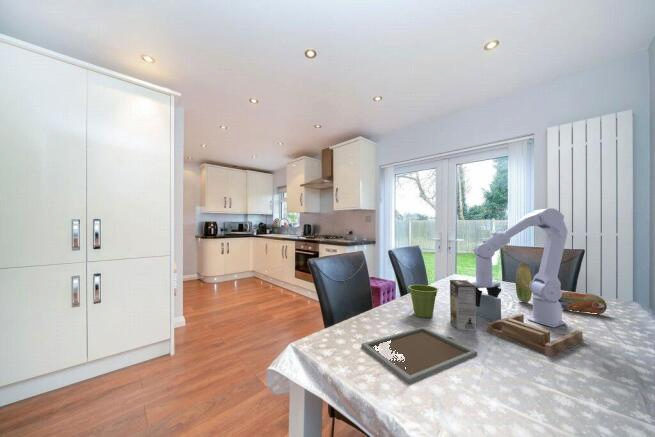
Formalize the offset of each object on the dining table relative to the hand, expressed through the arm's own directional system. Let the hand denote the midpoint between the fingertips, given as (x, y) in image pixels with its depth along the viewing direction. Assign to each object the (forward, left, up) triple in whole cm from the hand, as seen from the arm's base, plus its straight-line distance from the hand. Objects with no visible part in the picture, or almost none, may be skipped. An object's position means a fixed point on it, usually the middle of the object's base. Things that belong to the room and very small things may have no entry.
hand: (484, 305), depth 98 cm
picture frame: (+45, +8, -5) cm, 46 cm away
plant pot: (+22, -12, -5) cm, 25 cm away
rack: (+4, +18, -4) cm, 19 cm away
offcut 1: (+10, +18, -5) cm, 21 cm away
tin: (-43, +15, -5) cm, 46 cm away
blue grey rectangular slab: (0, 0, -4) cm, 5 cm away
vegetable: (-35, -2, -5) cm, 35 cm away
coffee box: (+17, +2, -5) cm, 18 cm away
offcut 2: (+7, +18, -5) cm, 20 cm away
